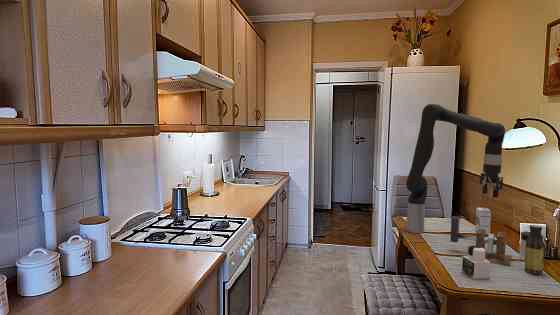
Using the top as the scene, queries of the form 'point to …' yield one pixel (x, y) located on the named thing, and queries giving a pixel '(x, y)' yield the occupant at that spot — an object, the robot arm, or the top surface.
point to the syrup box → (483, 219)
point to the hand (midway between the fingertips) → (489, 195)
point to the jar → (524, 244)
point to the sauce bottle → (534, 251)
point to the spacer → (490, 243)
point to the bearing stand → (500, 248)
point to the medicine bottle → (476, 263)
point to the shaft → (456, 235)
